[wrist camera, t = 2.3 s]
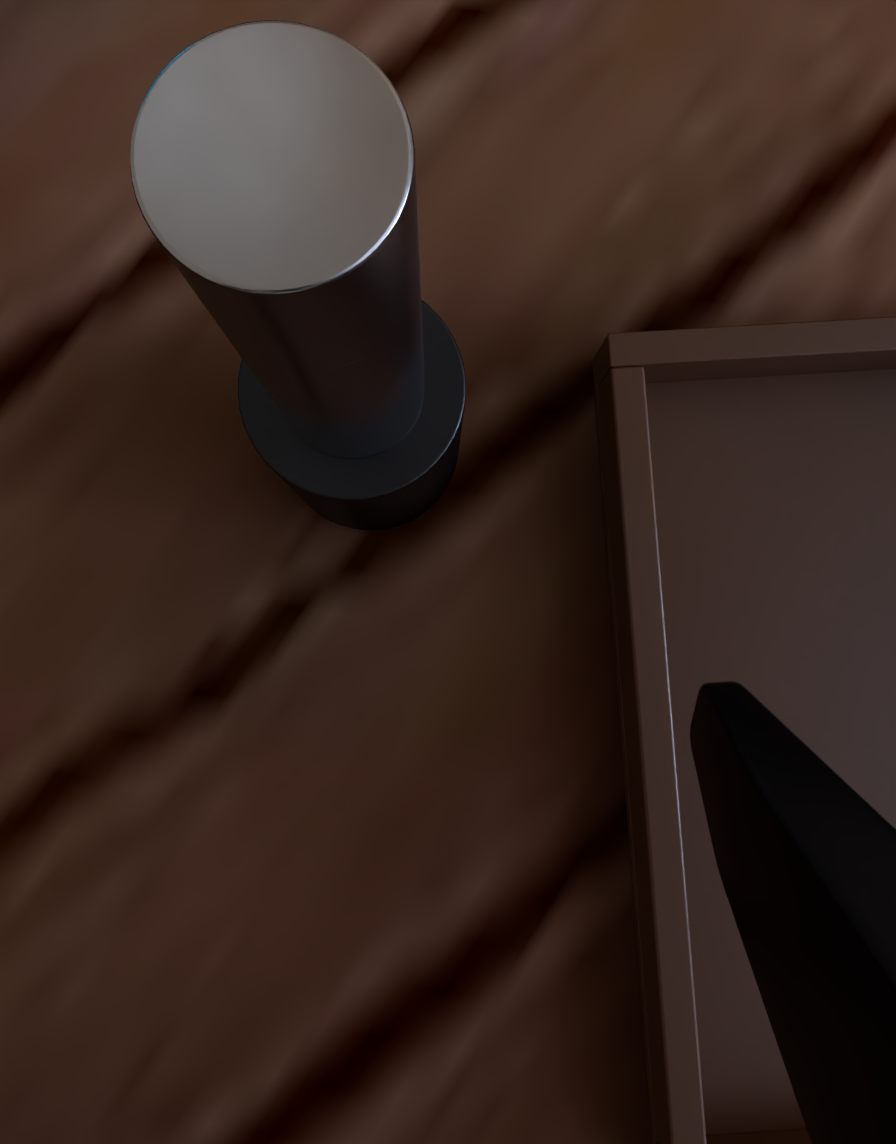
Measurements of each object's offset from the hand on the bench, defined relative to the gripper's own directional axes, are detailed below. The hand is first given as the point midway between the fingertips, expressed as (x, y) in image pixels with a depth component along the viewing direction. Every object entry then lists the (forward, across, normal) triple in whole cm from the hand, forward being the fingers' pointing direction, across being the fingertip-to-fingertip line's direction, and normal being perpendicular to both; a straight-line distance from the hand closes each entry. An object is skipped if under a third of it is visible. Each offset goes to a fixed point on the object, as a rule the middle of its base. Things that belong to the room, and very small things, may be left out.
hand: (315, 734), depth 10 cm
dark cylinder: (+12, 0, +4) cm, 13 cm away
